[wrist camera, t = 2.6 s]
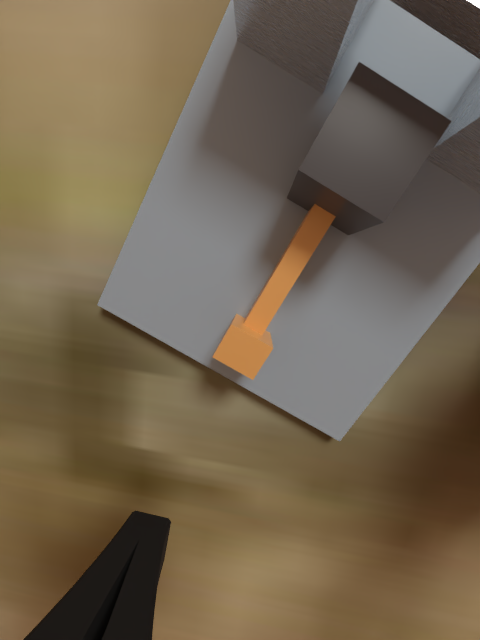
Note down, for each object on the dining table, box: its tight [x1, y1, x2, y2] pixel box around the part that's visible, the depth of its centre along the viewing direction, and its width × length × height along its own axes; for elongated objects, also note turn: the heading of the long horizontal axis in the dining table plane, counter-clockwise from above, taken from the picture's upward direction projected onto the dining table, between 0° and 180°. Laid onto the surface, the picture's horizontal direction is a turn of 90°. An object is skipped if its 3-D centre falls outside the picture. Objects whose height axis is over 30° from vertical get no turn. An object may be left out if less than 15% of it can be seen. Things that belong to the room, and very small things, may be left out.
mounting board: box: [98, 0, 480, 441], centre depth 12 cm, size 39×18×1 cm, turn 150°
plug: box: [213, 62, 451, 380], centre depth 12 cm, size 13×4×4 cm, turn 150°
